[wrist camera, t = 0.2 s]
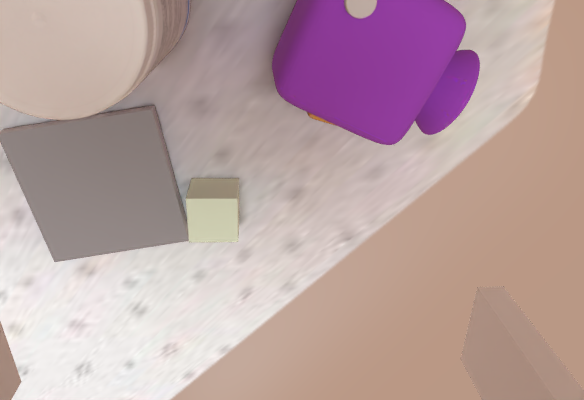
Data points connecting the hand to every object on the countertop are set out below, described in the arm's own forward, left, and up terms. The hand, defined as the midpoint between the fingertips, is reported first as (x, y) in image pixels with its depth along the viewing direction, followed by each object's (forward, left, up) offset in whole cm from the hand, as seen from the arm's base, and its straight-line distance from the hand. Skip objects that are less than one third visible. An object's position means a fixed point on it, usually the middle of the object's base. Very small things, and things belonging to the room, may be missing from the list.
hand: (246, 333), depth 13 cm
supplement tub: (-8, -8, -27) cm, 29 cm away
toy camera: (-2, +9, -27) cm, 29 cm away
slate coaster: (+6, -14, -27) cm, 31 cm away
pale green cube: (+9, -5, -27) cm, 29 cm away
